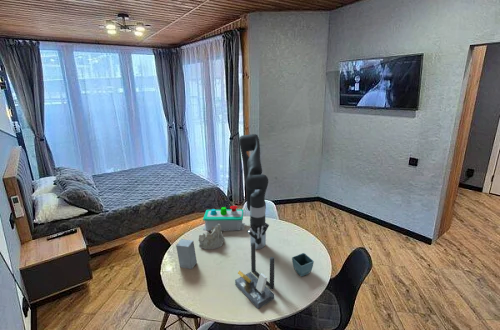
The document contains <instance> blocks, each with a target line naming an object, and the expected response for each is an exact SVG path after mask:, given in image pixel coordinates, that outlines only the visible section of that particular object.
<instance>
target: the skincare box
mask: <svg viewBox="0 0 500 330" xmlns="http://www.w3.org/2000/svg"><path fill="white" fill-rule="evenodd" d="M175 247H176V253H177V258H178V266H179V268H183V269H189V270H193V268H194V267H195V265H197V262H198V261H197V254H196V249H195V243H194V240H193V239H184V238H181V239H180V240H179V241H178V243H177V244H176V245H175Z"/></svg>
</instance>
